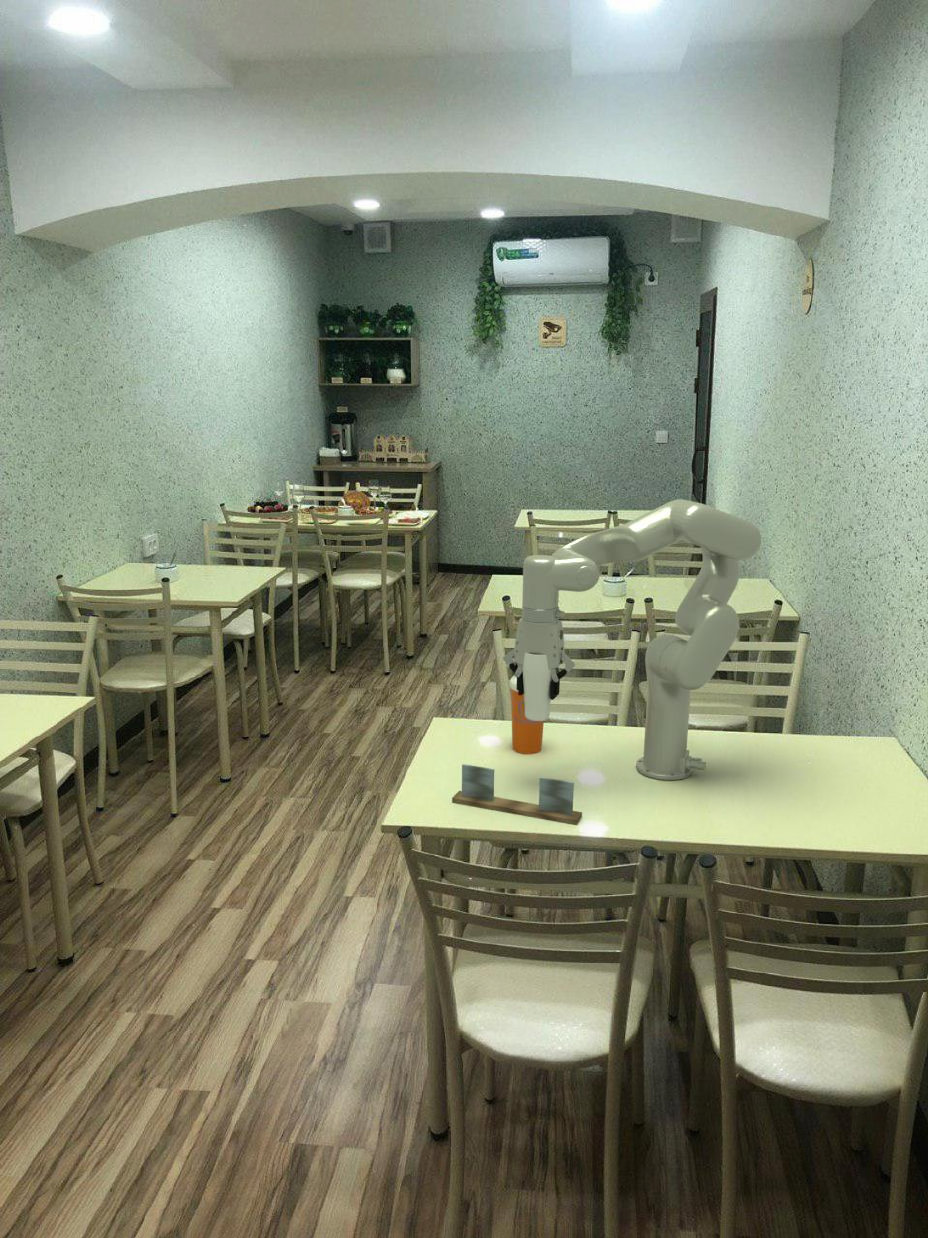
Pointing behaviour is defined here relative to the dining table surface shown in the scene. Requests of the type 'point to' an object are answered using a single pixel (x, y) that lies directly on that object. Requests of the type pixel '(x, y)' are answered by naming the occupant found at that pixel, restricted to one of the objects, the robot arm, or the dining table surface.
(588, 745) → the dining table surface
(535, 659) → the drinking glass
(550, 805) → the stand
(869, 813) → the dining table surface
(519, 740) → the shaker bottle
